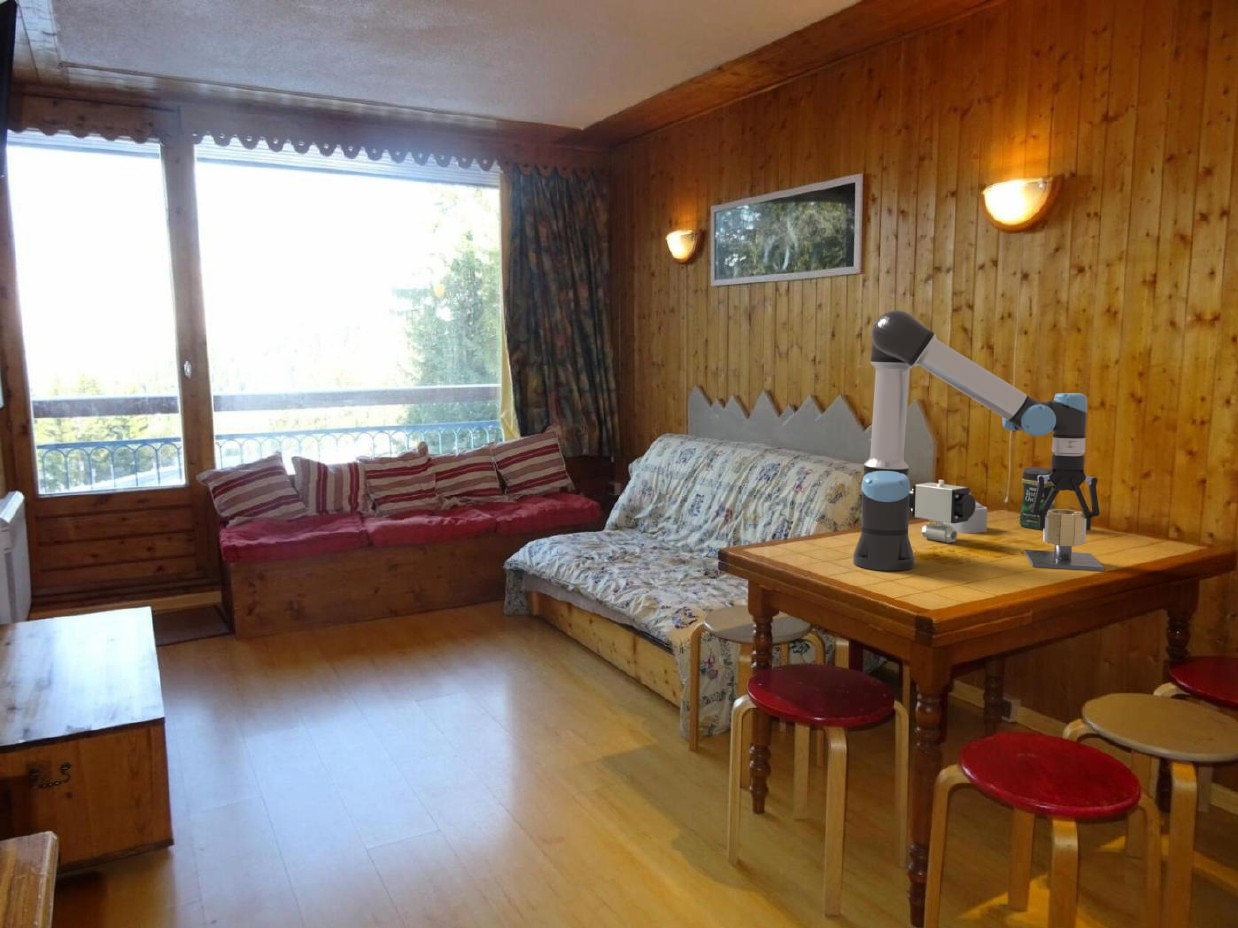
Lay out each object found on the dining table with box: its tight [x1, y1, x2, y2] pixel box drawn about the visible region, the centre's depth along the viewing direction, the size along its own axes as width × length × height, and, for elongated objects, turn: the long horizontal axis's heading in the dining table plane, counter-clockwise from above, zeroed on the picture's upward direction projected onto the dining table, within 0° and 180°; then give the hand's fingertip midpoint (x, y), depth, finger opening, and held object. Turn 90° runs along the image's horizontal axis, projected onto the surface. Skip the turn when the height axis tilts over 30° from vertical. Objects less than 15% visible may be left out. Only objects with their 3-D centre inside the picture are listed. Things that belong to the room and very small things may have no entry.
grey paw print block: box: [944, 500, 988, 534], centre depth 272 cm, size 10×13×9 cm
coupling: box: [1046, 508, 1085, 547], centre depth 228 cm, size 8×8×8 cm
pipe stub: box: [1024, 545, 1105, 572], centre depth 228 cm, size 16×16×12 cm
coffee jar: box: [1019, 466, 1055, 530], centre depth 272 cm, size 10×8×19 cm
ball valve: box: [909, 479, 977, 544], centre depth 255 cm, size 18×8×18 cm, turn 36°
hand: (1063, 541), depth 228 cm, fingers closed on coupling, 8 cm apart
